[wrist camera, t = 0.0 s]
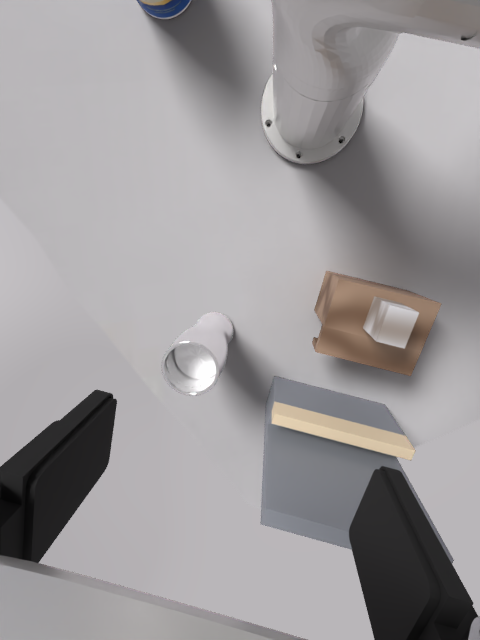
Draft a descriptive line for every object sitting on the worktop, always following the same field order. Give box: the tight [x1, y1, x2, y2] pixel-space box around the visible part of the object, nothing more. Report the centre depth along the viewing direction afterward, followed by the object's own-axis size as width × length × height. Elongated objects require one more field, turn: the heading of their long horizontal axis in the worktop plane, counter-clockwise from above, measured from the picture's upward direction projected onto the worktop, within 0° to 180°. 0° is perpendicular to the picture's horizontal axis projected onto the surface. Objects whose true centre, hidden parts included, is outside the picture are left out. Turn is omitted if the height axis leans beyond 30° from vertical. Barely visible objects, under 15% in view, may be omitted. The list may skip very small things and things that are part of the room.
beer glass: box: [161, 312, 233, 396], centre depth 41 cm, size 7×7×15 cm
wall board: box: [261, 376, 454, 563], centre depth 39 cm, size 6×18×22 cm, turn 77°
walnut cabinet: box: [312, 271, 441, 376], centre depth 39 cm, size 9×12×14 cm
